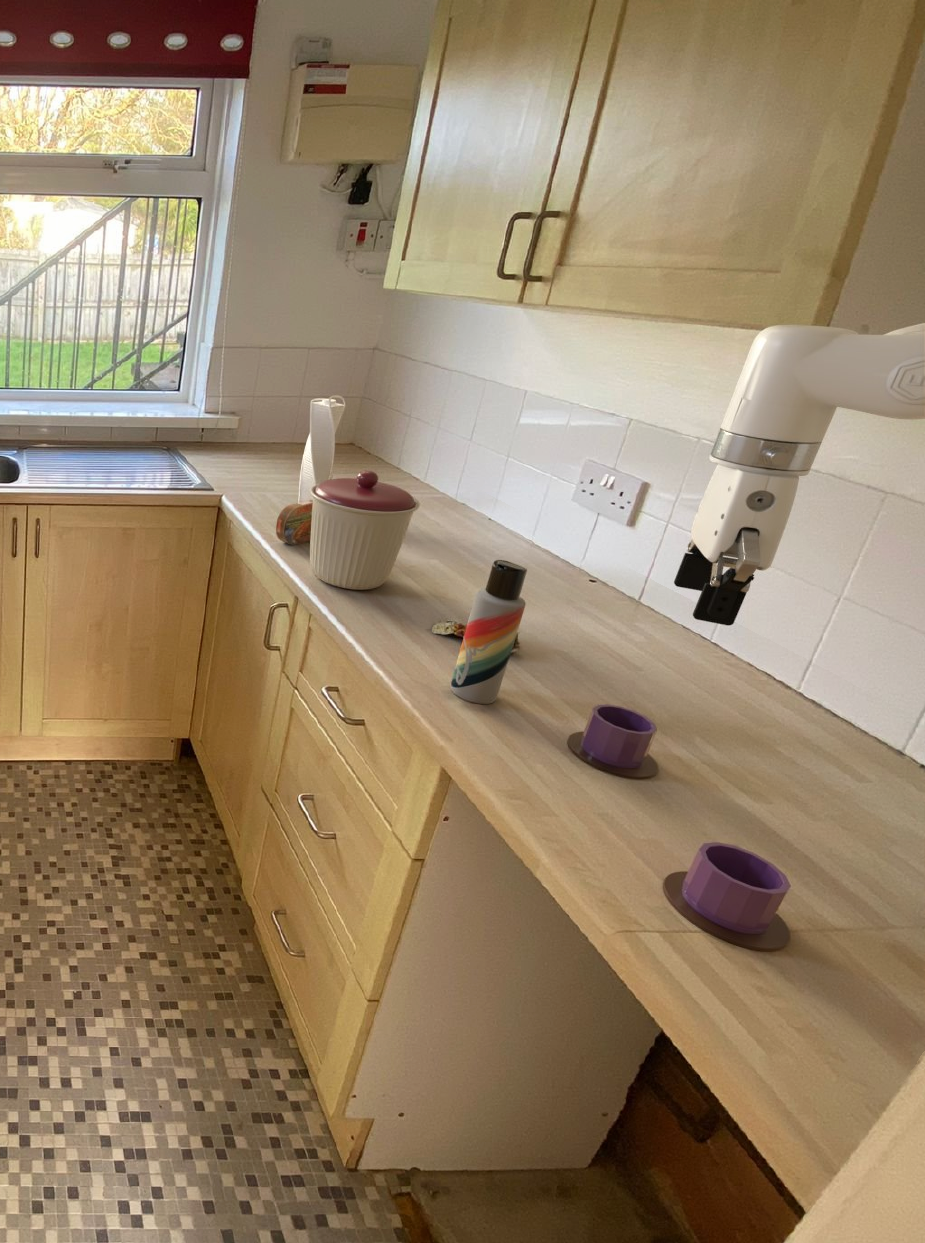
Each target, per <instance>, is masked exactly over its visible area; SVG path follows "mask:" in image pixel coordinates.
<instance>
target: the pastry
mask: <svg viewBox="0 0 925 1243" xmlns="http://www.w3.org/2000/svg"><path fill="white" fill-rule="evenodd" d="M466 627H467V624H463V623H461V622H460V623H459V622H458V623H457V621H454V620H451V619H446V621H444V622H443V621H438V622H436V623H433V625H432V628H431V632H432V634H437V635H438V634H439V635H442V636H443V635H449V634H450V635H451V634H454V635H456V637H461V638H464V635H465V631H466ZM520 645H521V644H520V641H519V632H518V631H517V635H516V638H515V641H514V644H513V648H512V651H511V653H517V652H518V651H520V649H519V647H520Z"/></svg>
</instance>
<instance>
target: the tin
mask: <svg viewBox="0 0 925 1243" xmlns="http://www.w3.org/2000/svg"><path fill="white" fill-rule="evenodd" d="M312 506H313V500H309V501H304V502H300V503H298V502H296V503H292V504H288V505H287V506H285V507H284V508H283V509H282V510H281V511H280V512H279V514H278V516H277V518H276V520H277V521H276V525H275V534H276V537H277V538H278V539H279V541H281V542H284V543H286V544H288V545H290V546H295V545H299V544H303V543H306V542H310V539H311V522H312Z"/></svg>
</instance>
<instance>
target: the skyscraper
mask: <svg viewBox="0 0 925 1243" xmlns="http://www.w3.org/2000/svg"><path fill="white" fill-rule="evenodd" d="M334 398H337V399H341V401H342V402H343V404H342V403H338V402H337V400H336V399H334ZM346 406H347V404H346V401H345V398H344V397H343V396H342V395H340V394H339V395H338V394H334V395H333V394H332V395H331V396H329V397H328V398H325V397H316V398H312V399H311V400H310V406H309V407H310V410H309V434H308V436H307V439H306V444H305V447H304V451H303V455H302V460H301V465H300V466H301V467H300V473H299V486H298V502H297V503H300V502H304V501H309V500H313V496H312V495H311V493H310V489H311V488H312V487H313V486H314V485H317V484H320V483H322V482H324V481H327V480H332V479H334V476H333V474H332V473H333V469H334V461H335V451H336V435H335V434H336V432H337V429H338V427H339V424H340V422H341V419H342V417H343V414H344V411H345V409H346Z"/></svg>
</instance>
